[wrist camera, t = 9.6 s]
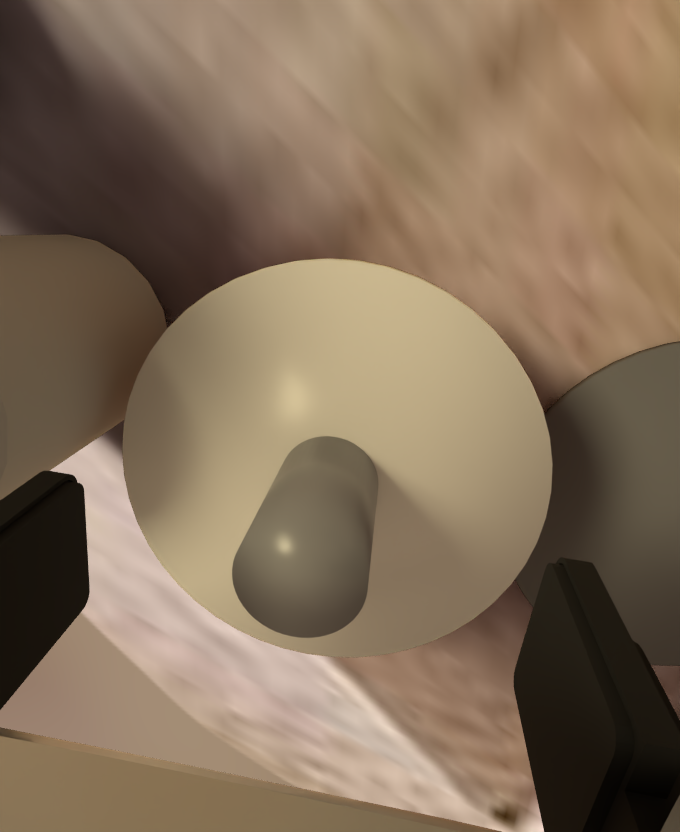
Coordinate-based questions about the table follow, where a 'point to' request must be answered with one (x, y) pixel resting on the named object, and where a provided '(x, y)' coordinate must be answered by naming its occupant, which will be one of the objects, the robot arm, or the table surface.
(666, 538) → the mat
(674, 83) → the table surface
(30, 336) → the can
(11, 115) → the table surface
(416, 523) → the lid
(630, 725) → the robot arm
